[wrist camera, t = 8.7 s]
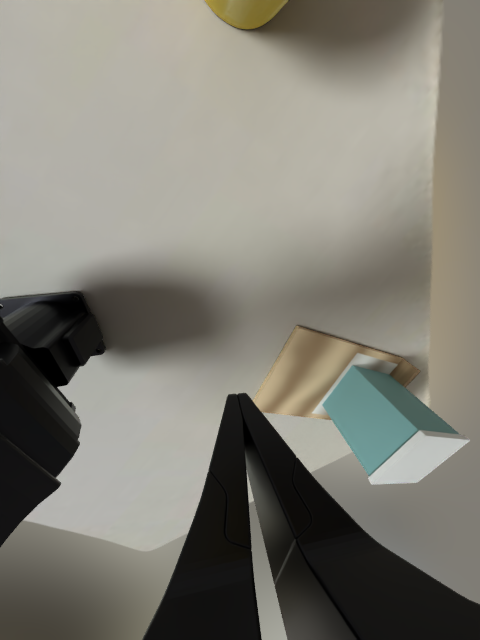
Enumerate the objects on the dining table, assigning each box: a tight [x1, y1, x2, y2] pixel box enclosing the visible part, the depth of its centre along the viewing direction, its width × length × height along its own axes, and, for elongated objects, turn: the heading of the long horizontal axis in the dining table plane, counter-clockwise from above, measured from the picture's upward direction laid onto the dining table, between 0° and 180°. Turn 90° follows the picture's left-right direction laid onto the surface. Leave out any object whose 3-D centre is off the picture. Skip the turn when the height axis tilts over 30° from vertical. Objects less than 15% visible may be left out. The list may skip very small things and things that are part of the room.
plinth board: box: [253, 326, 420, 420], centre depth 30 cm, size 20×14×3 cm
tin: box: [322, 365, 470, 484], centre depth 28 cm, size 8×8×11 cm
